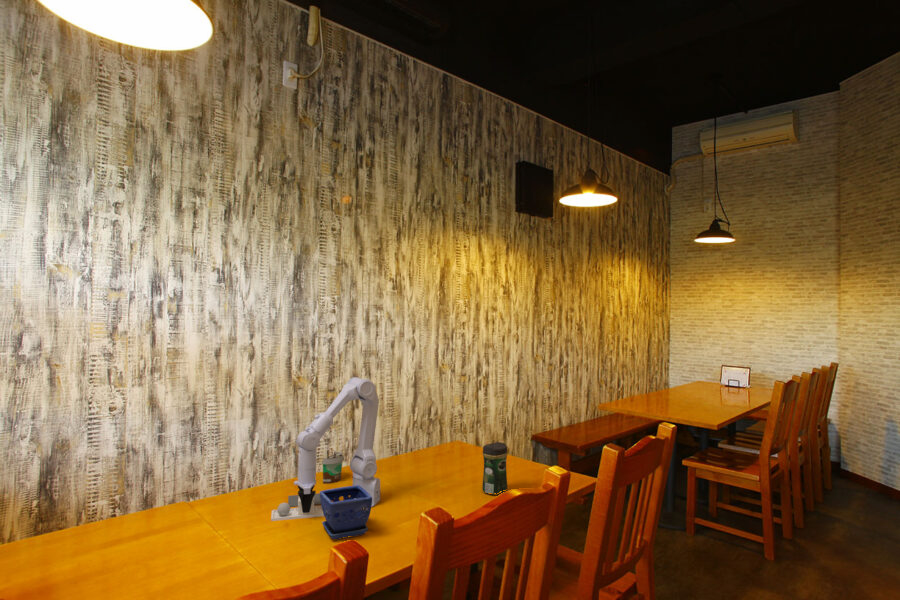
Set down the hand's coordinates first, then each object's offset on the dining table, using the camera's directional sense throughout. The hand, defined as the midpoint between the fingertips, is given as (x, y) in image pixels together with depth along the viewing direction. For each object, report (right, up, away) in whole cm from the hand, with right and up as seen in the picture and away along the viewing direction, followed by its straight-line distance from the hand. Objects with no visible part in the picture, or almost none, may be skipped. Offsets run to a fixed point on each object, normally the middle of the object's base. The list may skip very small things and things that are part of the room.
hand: (305, 509), depth 173 cm
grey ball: (-7, -1, -2) cm, 7 cm away
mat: (-4, -2, +12) cm, 13 cm away
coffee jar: (+65, -4, +26) cm, 70 cm away
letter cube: (0, -1, 0) cm, 1 cm away
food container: (+2, -3, +36) cm, 37 cm away
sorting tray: (0, -2, 0) cm, 2 cm away
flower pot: (+16, -2, -14) cm, 21 cm away
